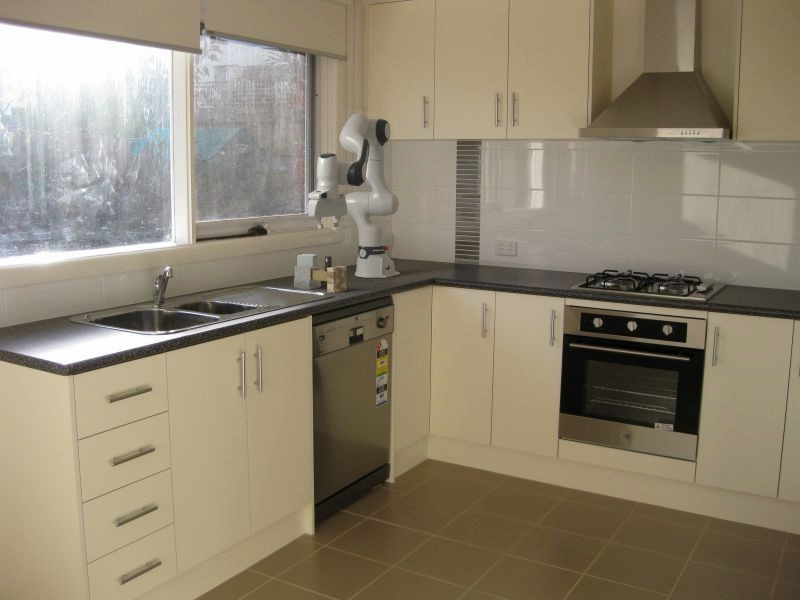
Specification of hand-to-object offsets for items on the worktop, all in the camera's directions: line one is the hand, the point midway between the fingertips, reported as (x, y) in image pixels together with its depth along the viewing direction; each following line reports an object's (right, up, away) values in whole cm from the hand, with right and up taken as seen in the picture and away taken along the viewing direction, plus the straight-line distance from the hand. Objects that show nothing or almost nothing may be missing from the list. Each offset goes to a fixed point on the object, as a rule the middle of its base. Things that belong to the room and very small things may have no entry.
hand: (328, 227), depth 357 cm
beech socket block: (+3, -26, +1) cm, 26 cm away
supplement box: (-11, -23, +24) cm, 35 cm away
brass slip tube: (-2, -21, +5) cm, 22 cm away
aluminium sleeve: (-10, -24, +11) cm, 29 cm away
